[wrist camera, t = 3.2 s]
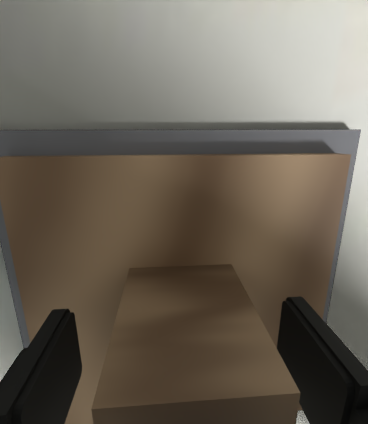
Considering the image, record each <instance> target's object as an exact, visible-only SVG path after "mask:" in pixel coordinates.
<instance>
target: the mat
mask: <svg viewBox="0 0 368 424" xmlns="http://www.w3.org/2000/svg"><path fill="white" fill-rule="evenodd" d="M360 132H361V130H0V157H2V156H63V155H179V154H294V153H340V154H351V159H350V165H349V170H348V176H347V182H346V188H345V193H344V199H343V205H342V211H341V216H340V222H339V228H338V234H337V239H336V245H335V251H334V257H333V262H332V268H331V274H330V279H329V285H328V291H327V297H326V302H325V308H324V314H323V321H324V322H325V323H326V321H327V315H328V310H329V304H330V299H331V293H332V288H333V282H334V276H335V271H336V265H337V260H338V254H339V249H340V243H341V237H342V232H343V226H344V221H345V215H346V210H347V204H348V199H349V193H350V187H351V182H352V176H353V171H354V165H355V160H356V154H357V148H358V143H359V137H360ZM0 242H1V247H2V251H3V256H4V261H5V265H6V270H7V274H8V279H9V283H10V288H11V292H12V297H13V301H14V306H15V310H16V315H17V320H18V324H19V329H20V333H21V338H22V342H23V347H24V349H25V348H28V346H29V344H30V340H29V335H28V330H27V325H26V321H25V316H24V311H23V306H22V301H21V297H20V292H19V287H18V282H17V278H16V273H15V268H14V263H13V259H12V254H11V249H10V244H9V240H8V235H7V230H6V225H5V221H4V216H3V211H2V206H1V202H0Z"/></svg>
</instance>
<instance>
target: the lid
mask: <svg viewBox="0 0 368 424" xmlns="http://www.w3.org/2000/svg"><path fill="white" fill-rule="evenodd" d="M350 159H351V154H340V153H294V154H179V155H63V156H2V157H0V202H1V206H2V211H3V216H4V221H5V225H6V230H7V235H8V240H9V244H10V249H11V254H12V259H13V263H14V268H15V273H16V278H17V282H18V287H19V292H20V297H21V301H22V306H23V311H24V316H25V321H26V325H27V330H28V335H29V340H30V343H31V341H32V340H33V338H34V337H35V335H36V334H37V332H38V331H39V329H40V328H41V326H42V324H43V323H44V321H45V320H46V318H47V317H48V315H49V314H50V312H51V311H52V310H53V309H69V310H70V312H74V314H75V321H76V327H77V334H78V341H79V348H80V355H81V361H82V374H81V377H80V380H79V383H78V386H77V389H76V392H75V395H74V398H73V401H72V403H71V406H70V409H69V412H68V415H67V418H66V421H65V424H296V418H297V412H298V410H303V409H302V407H301V405H300V403H299V400H300V391H299V389H298V387H297V385H296V384H295V382H294V380H293V378H292V376H291V374H290V372H289V370H288V369H287V367H286V365H285V363H284V361H283V359H282V357H281V356H280V354H279V352H278V350H277V342H278V333H279V325H280V317H281V309H282V302H283V301H286V298H287V297H298V296H301V297H303V298H304V299H305V300H306V301H307V302H308V304H309V305H310V306H311V307H312V308H313V309H314V310H315V312H316V313H317V314H318V315H319V316H320V317H321V318H322V320H323V314H324V308H325V302H326V297H327V291H328V285H329V279H330V274H331V268H332V262H333V257H334V251H335V245H336V239H337V234H338V228H339V222H340V216H341V211H342V205H343V199H344V193H345V188H346V182H347V176H348V170H349V165H350Z"/></svg>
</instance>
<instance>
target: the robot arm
mask: <svg viewBox="0 0 368 424" xmlns="http://www.w3.org/2000/svg"><path fill="white" fill-rule="evenodd" d="M277 350H278V352H279V354H280V356H281V357H282V359H283V361H284V363H285V365H286V367H287V369H288V370H289V372H290V374H291V376H292V378H293V380H294V382H295V384H296V385H297V387H298V389H299V391H300V400H299V403H300V405H301V407H302V409H303V411H304V413H305V415H306V417H307V419H308V421H309V423H310V424H368V371H367V370H366V368H365V367H364V366H363V365H362V364H361V363H360V362H359V360H358V359H357V358H356V357H355V356H354V355H353V354H352V352H351V351H350V350H349V349H348V348H347V347H346V346H345V345H344V343H343V342H342V341H341V340H340V339H339V338H338V337H337V335H336V334H335V333H334V332H333V331H332V330H331V329H330V327H329V326H328V325H327V324H326V323H325V322H324V321H323V320H322V318H321V317H320V316H319V315H318V314H317V313H316V312H315V310H314V309H313V308H312V307H311V306H310V305H309V304H308V302H307V301H306V300H305V299H304V298H303V297H301V296H298V297H287V298H286V301H283V302H282V309H281V317H280V325H279V333H278V342H277ZM81 374H82V361H81V355H80V348H79V341H78V334H77V327H76V321H75V314H74V312H70V310H69V309H53V310H52V311H51V312H50V314H49V315H48V317H47V318H46V320H45V321H44V323H43V324H42V326H41V328H40V329H39V331H38V332H37V334H36V335H35V337H34V338H33V340H32V341H31V343H30V344H29V346H28V348H25V349H23V350H22V351H21V352H20V353H19V355H18V356H17V358H16V359H15V361H14V362H13V364H12V365H11V367H10V368H9V370H8V371H7V373H6V374H5V376H4V377H3V379H2V380H1V382H0V424H65V421H66V418H67V415H68V412H69V409H70V406H71V403H72V401H73V398H74V395H75V392H76V389H77V386H78V383H79V380H80V377H81Z"/></svg>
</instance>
